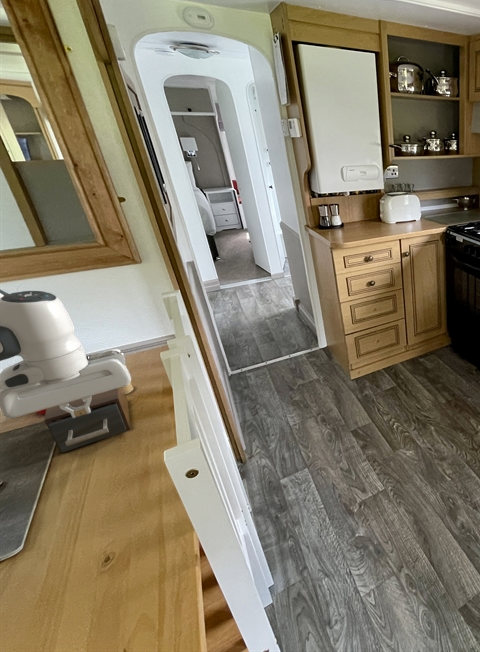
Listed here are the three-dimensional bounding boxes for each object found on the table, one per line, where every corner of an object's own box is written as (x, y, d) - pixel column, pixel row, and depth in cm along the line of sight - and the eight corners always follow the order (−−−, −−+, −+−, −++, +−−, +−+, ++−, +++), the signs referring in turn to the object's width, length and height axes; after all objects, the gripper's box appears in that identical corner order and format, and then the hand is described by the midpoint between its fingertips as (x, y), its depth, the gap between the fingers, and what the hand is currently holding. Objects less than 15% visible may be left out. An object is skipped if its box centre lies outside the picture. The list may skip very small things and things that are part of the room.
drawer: (127, 443, 92) (116, 416, 89) (59, 467, 84) (45, 439, 81) (124, 405, 105) (115, 381, 102) (65, 423, 97) (54, 397, 95)
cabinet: (130, 429, 97) (118, 398, 94) (60, 453, 89) (43, 419, 86) (127, 402, 107) (116, 372, 104) (64, 421, 99) (50, 390, 96)
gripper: (121, 342, 90) (139, 390, 95) (-10, 373, 77) (19, 426, 83) (122, 352, 86) (140, 402, 91) (-16, 386, 73) (14, 442, 78)
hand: (82, 414), depth 87 cm, fingers closed
